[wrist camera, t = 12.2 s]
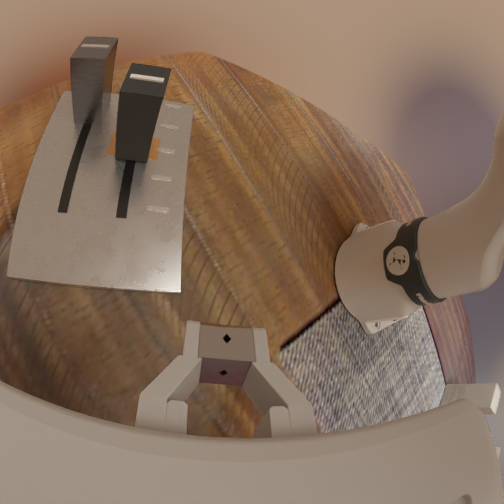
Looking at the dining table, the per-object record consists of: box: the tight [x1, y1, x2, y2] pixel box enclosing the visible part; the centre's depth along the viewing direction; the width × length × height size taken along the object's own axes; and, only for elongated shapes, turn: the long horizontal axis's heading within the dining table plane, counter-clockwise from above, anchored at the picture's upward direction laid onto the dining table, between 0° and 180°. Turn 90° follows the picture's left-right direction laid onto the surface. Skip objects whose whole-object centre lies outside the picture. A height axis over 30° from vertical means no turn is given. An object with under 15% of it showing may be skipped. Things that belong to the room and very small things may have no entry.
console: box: [7, 37, 194, 294], centre depth 24 cm, size 20×28×13 cm
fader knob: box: [115, 63, 171, 162], centre depth 24 cm, size 4×4×11 cm
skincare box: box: [440, 383, 501, 414], centre depth 43 cm, size 8×7×16 cm
